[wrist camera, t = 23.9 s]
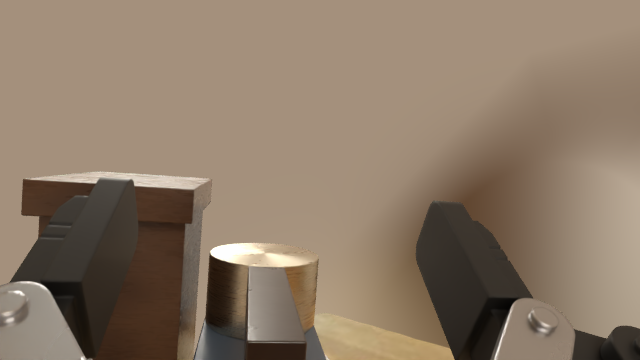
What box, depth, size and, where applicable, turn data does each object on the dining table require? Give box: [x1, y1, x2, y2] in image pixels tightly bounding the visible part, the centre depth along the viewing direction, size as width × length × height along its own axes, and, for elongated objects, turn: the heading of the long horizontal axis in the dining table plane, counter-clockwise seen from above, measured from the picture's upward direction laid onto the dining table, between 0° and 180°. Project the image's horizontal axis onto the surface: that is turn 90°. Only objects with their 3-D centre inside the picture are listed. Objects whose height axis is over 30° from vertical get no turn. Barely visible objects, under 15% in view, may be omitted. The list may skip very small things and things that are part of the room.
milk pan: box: [205, 243, 319, 360], centre depth 28 cm, size 8×20×5 cm, turn 9°
